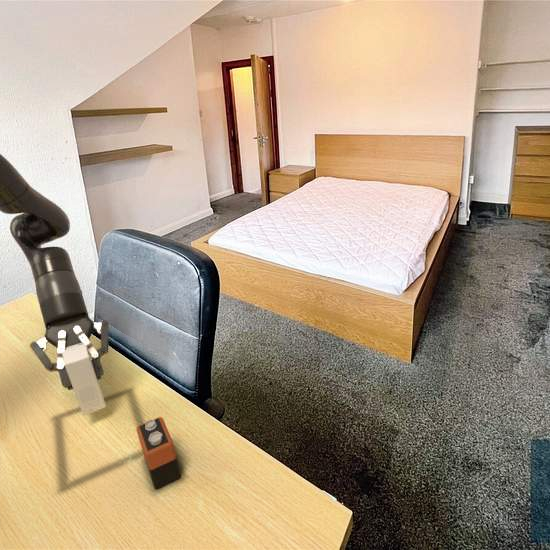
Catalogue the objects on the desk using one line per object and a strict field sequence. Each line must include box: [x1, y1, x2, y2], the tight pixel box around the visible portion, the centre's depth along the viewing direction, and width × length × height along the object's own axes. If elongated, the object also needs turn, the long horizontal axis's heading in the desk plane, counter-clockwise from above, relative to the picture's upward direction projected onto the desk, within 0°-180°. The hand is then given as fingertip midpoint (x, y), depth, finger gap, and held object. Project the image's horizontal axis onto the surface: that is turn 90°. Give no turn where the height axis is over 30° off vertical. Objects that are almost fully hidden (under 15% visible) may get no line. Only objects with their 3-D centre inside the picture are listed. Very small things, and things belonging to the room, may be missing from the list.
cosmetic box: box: [62, 343, 107, 416], centre depth 76 cm, size 6×4×12 cm
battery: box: [136, 416, 182, 491], centre depth 66 cm, size 4×7×10 cm, turn 29°
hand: (85, 383), depth 74 cm, fingers closed on cosmetic box, 4 cm apart
